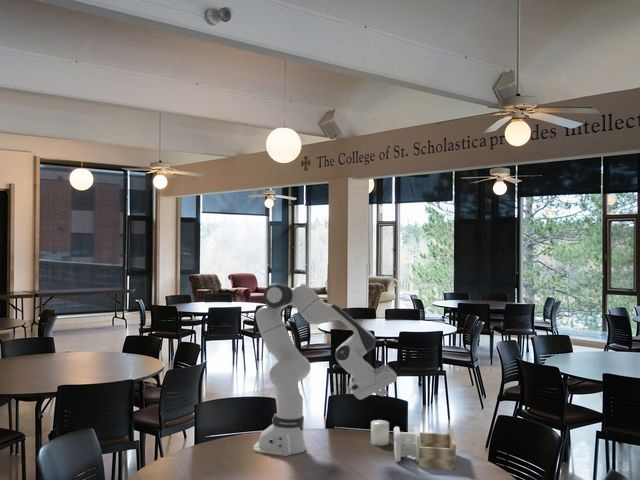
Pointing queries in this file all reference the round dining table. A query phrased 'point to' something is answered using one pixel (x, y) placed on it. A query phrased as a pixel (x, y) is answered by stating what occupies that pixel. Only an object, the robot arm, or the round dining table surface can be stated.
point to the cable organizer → (406, 443)
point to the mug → (379, 432)
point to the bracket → (437, 451)
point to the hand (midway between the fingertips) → (384, 394)
